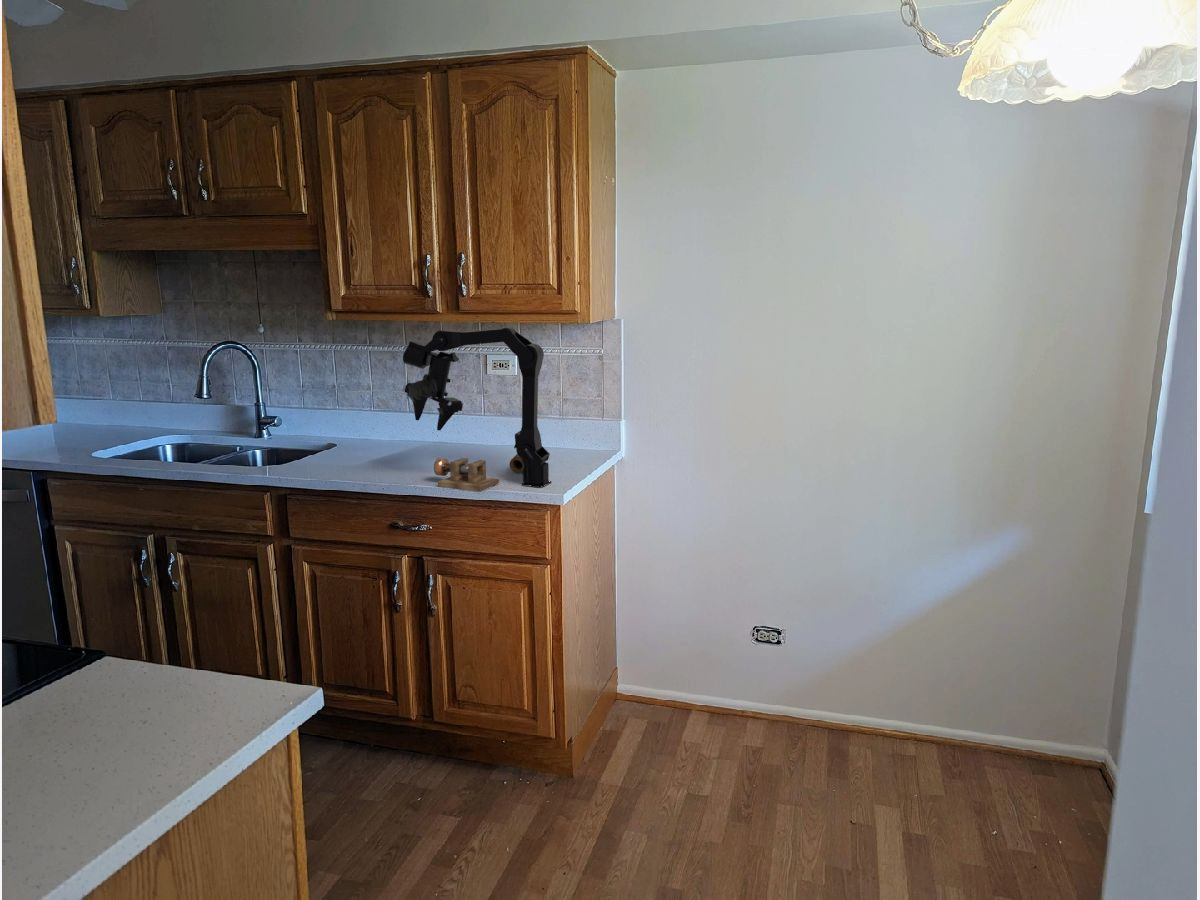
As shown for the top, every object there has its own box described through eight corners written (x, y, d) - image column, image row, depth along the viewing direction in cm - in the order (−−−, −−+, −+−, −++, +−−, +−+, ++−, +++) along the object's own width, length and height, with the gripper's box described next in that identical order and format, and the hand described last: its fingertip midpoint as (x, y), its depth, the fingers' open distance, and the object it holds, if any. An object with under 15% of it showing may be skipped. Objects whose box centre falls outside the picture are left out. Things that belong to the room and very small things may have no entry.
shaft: (480, 477, 244) (480, 460, 243) (471, 481, 239) (470, 463, 238) (444, 473, 249) (443, 456, 248) (434, 476, 245) (433, 459, 244)
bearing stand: (499, 484, 245) (498, 460, 243) (480, 491, 236) (479, 467, 234) (457, 479, 250) (457, 455, 249) (437, 486, 242) (437, 462, 240)
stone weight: (525, 464, 271) (525, 443, 270) (546, 465, 269) (546, 444, 268) (507, 474, 257) (507, 452, 256) (529, 476, 255) (529, 454, 254)
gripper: (395, 363, 242) (385, 415, 246) (440, 382, 232) (429, 437, 236) (424, 364, 251) (414, 414, 255) (468, 382, 241) (457, 435, 245)
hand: (427, 425), depth 247 cm, fingers open, 9 cm apart
